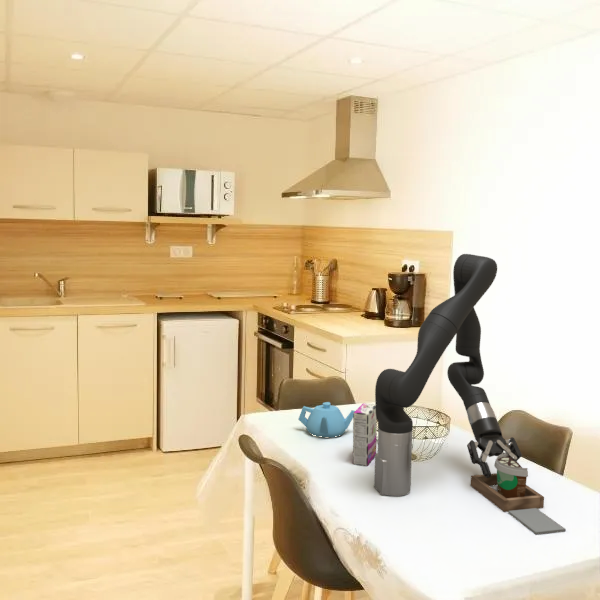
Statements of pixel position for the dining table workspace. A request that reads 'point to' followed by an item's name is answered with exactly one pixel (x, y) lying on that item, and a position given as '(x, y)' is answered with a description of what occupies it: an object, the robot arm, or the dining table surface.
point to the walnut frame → (505, 504)
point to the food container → (510, 477)
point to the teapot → (325, 420)
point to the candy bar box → (364, 434)
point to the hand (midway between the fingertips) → (503, 475)
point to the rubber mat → (536, 521)
